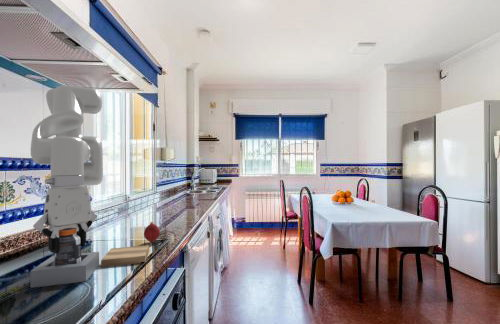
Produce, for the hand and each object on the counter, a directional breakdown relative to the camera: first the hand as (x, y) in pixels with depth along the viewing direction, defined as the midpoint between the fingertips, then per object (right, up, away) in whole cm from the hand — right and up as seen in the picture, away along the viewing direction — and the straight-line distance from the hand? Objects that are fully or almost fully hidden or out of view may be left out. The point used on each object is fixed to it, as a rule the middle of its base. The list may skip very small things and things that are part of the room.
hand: (68, 248), depth 73 cm
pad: (+10, -7, +13) cm, 18 cm away
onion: (+12, -8, +31) cm, 34 cm away
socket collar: (0, -7, 0) cm, 7 cm away
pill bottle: (0, -6, 0) cm, 6 cm away
